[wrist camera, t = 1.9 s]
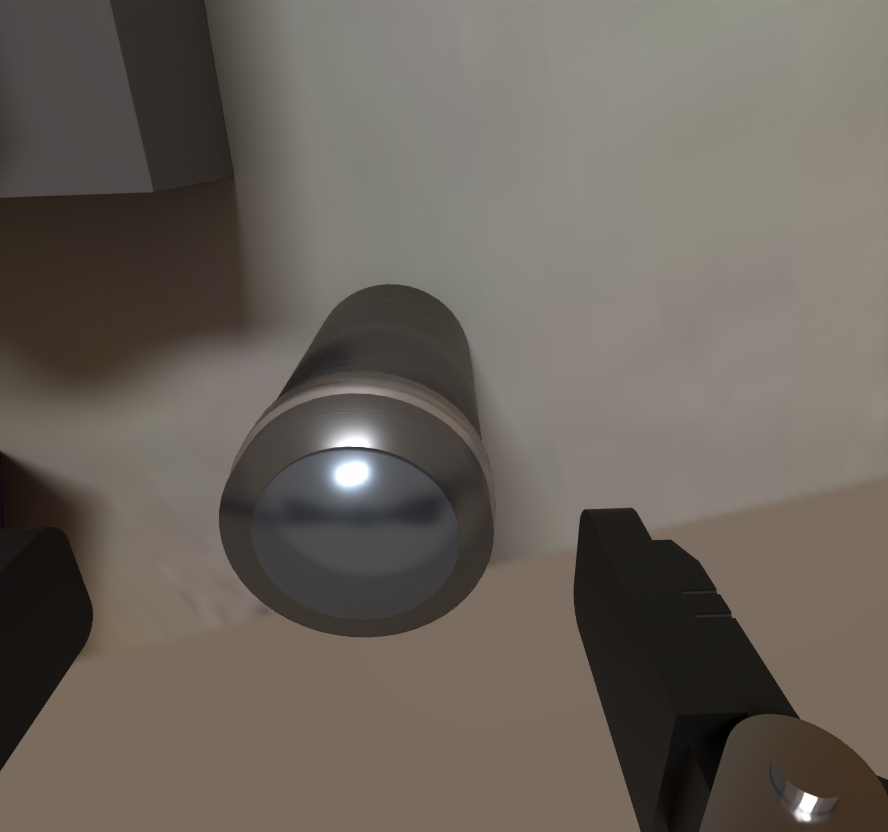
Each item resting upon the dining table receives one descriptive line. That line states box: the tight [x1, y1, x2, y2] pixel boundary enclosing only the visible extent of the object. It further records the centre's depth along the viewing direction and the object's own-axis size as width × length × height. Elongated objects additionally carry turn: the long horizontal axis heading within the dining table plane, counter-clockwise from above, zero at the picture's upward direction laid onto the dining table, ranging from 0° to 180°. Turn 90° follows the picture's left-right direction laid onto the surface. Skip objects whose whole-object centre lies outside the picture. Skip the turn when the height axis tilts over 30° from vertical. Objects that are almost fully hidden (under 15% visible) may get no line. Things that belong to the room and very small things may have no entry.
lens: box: [219, 284, 495, 637], centre depth 14 cm, size 5×5×9 cm
